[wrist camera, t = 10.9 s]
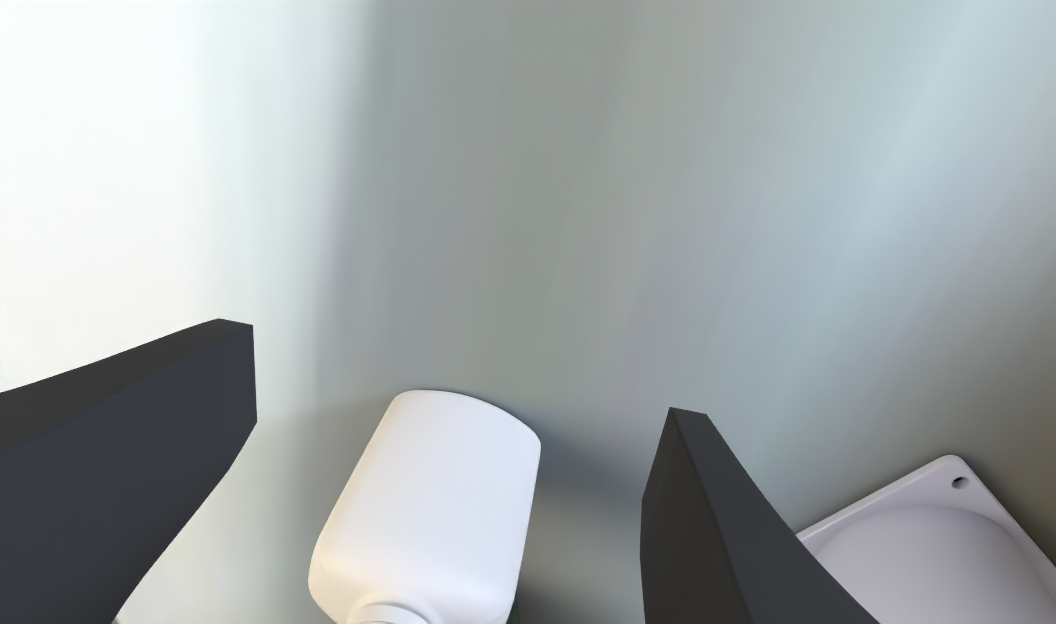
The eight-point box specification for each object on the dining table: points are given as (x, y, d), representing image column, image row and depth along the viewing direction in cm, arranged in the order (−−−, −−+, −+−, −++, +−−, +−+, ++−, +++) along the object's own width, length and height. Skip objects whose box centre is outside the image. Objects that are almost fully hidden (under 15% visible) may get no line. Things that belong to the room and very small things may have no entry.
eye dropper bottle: (478, 507, 26) (378, 871, 16) (370, 413, 25) (179, 741, 14) (560, 451, 25) (512, 815, 14) (449, 347, 23) (301, 661, 13)
